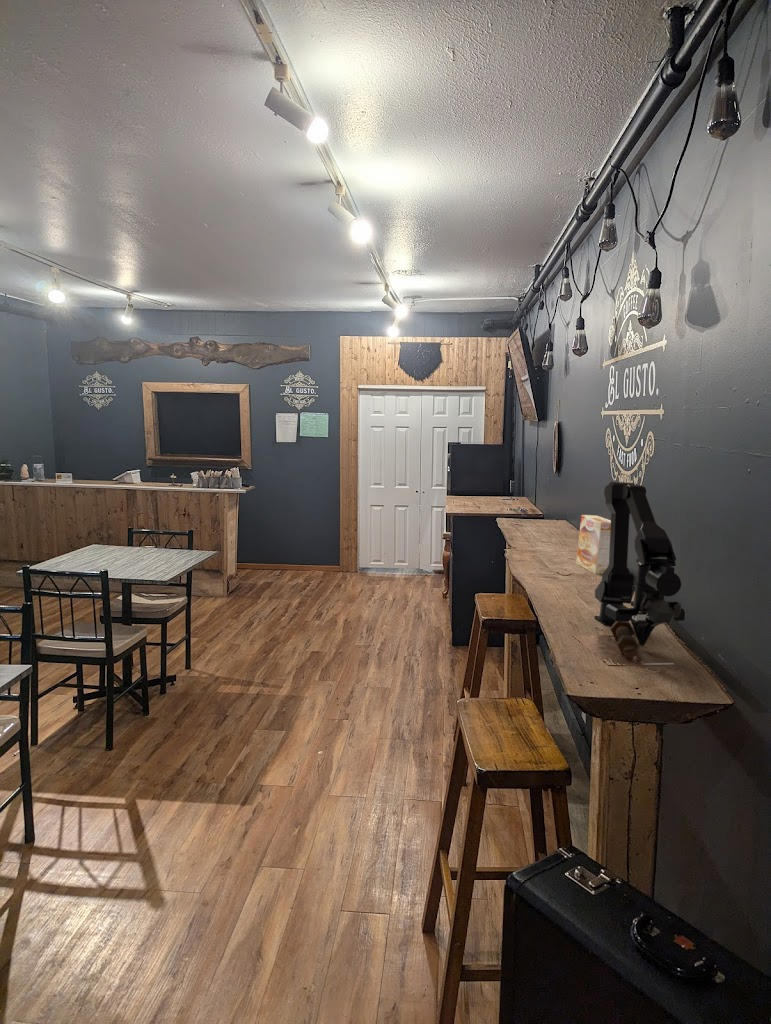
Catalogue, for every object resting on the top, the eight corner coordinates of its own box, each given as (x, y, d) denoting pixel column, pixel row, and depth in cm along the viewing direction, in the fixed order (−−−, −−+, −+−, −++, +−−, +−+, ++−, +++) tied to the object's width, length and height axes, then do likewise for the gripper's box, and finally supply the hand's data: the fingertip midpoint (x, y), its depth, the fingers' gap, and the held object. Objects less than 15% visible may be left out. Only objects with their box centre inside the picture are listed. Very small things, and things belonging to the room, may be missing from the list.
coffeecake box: (575, 563, 243) (580, 514, 240) (592, 564, 245) (597, 515, 241) (594, 574, 229) (600, 522, 225) (612, 574, 230) (618, 522, 227)
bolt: (625, 666, 149) (617, 642, 163) (646, 659, 147) (636, 635, 162) (614, 645, 148) (607, 623, 163) (635, 637, 147) (626, 615, 161)
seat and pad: (571, 635, 163) (571, 635, 163) (631, 635, 166) (631, 635, 166) (608, 665, 145) (608, 665, 145) (674, 664, 148) (674, 664, 148)
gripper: (632, 594, 144) (624, 658, 146) (704, 593, 147) (696, 656, 149) (606, 581, 155) (600, 641, 157) (674, 581, 158) (667, 640, 160)
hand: (641, 645), depth 156 cm, fingers closed
